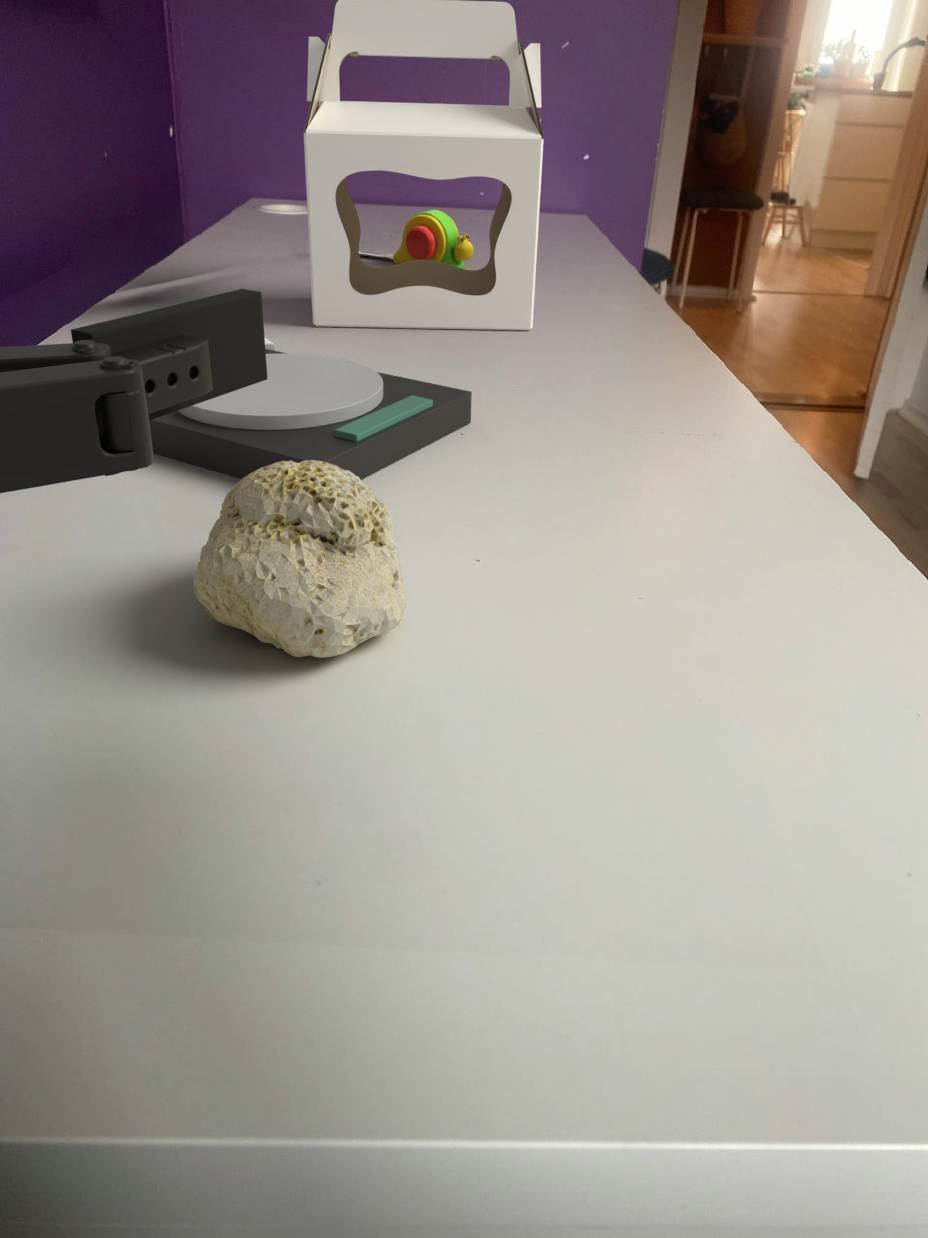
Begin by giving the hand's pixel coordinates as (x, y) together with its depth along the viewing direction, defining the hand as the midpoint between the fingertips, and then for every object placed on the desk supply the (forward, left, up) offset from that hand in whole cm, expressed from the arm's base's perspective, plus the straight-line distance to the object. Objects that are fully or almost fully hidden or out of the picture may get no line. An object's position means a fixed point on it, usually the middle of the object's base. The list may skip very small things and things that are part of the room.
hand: (105, 304), depth 34 cm
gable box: (-30, +66, -17) cm, 74 cm away
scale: (-18, +30, -17) cm, 39 cm away
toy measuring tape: (-47, +88, -17) cm, 101 cm away
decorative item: (0, +10, -17) cm, 19 cm away
